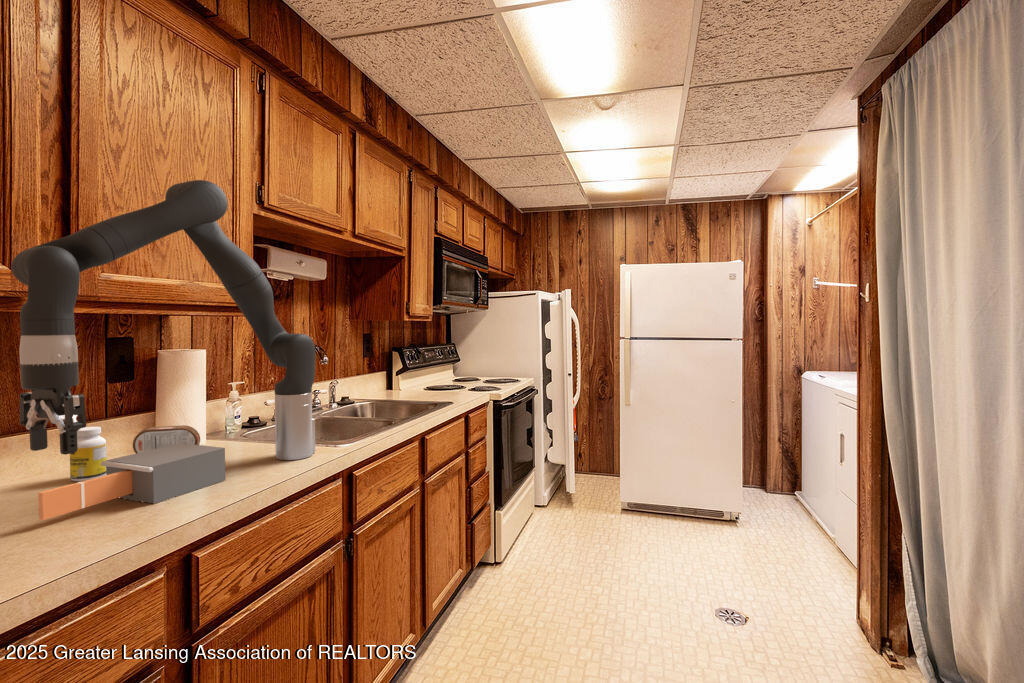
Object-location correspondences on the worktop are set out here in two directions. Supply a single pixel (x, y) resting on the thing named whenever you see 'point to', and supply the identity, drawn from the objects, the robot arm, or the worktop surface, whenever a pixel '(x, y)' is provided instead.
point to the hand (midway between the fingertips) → (53, 451)
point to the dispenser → (170, 470)
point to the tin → (165, 437)
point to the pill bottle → (88, 455)
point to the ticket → (84, 494)
